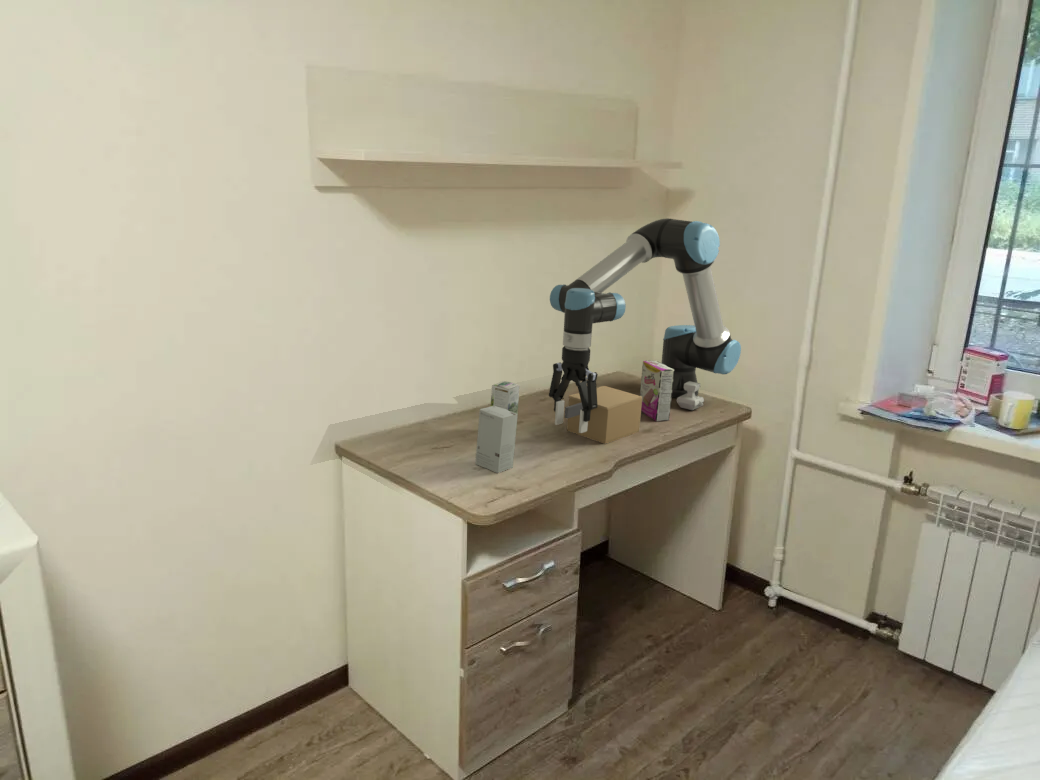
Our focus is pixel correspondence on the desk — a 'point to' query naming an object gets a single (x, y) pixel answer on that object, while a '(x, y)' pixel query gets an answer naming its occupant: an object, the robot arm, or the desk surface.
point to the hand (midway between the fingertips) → (570, 427)
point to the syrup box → (505, 396)
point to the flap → (602, 400)
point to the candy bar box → (656, 390)
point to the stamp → (690, 397)
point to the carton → (609, 422)
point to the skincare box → (496, 438)
